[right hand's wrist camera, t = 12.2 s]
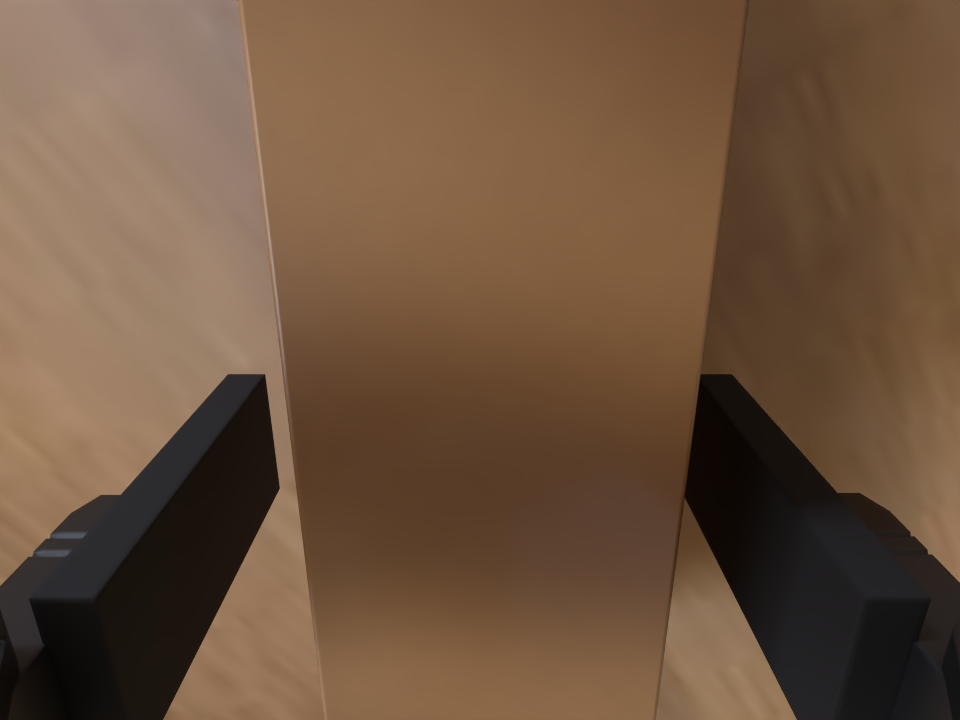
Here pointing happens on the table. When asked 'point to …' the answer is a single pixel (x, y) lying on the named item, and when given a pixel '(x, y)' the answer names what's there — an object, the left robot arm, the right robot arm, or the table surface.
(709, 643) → the table surface
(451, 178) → the post
